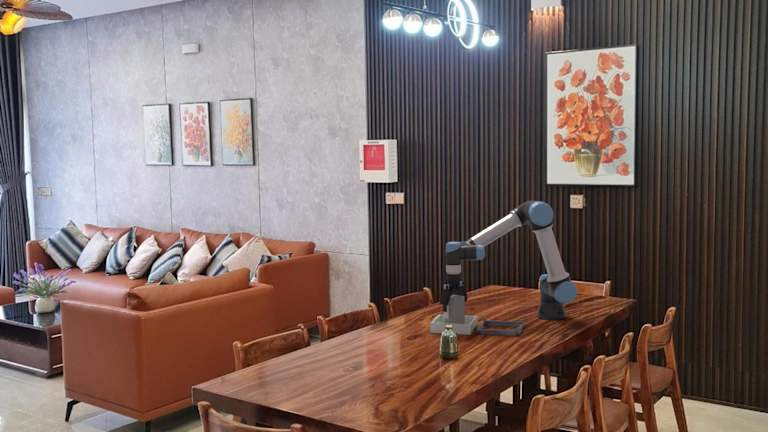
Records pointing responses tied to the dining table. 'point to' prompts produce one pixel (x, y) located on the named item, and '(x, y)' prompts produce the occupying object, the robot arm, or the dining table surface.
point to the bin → (454, 325)
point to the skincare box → (456, 310)
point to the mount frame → (486, 322)
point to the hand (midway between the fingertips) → (454, 316)
